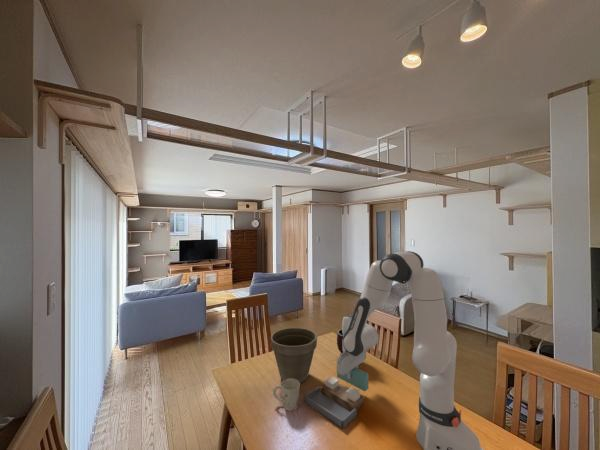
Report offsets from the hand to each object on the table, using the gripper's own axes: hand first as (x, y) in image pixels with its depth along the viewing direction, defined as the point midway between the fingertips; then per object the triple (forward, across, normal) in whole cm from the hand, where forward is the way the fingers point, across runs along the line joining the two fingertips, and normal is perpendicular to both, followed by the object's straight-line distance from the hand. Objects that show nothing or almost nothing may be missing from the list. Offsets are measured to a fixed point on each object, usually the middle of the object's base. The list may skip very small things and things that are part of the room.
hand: (352, 376), depth 122 cm
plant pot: (+7, -12, +29) cm, 32 cm away
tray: (+7, -18, 0) cm, 19 cm away
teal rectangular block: (+3, 0, 0) cm, 3 cm away
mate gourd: (+7, +21, +16) cm, 28 cm away
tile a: (+4, -8, -6) cm, 11 cm away
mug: (+7, -30, +15) cm, 34 cm away
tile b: (+4, -8, +6) cm, 11 cm away
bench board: (+7, -9, 0) cm, 11 cm away
